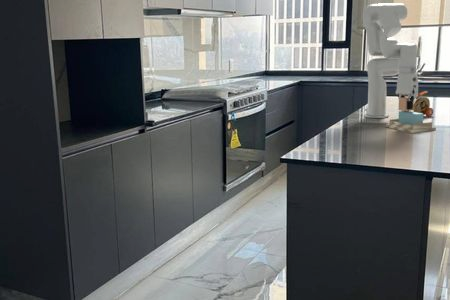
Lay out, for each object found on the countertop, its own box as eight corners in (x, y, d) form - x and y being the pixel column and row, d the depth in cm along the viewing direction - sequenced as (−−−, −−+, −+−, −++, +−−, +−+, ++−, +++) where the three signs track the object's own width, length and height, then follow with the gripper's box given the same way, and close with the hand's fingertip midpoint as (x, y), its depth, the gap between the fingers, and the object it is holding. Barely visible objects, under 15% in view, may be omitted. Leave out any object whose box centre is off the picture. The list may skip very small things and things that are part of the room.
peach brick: (398, 110, 240) (398, 97, 239) (406, 109, 242) (407, 96, 240) (404, 111, 236) (405, 98, 235) (413, 110, 238) (413, 97, 236)
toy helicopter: (434, 116, 268) (436, 90, 265) (408, 120, 258) (409, 94, 255) (421, 114, 275) (423, 89, 272) (395, 118, 265) (396, 93, 262)
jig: (385, 127, 243) (386, 119, 242) (408, 124, 248) (408, 116, 247) (412, 133, 227) (412, 125, 226) (435, 129, 232) (436, 122, 231)
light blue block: (398, 124, 242) (398, 111, 241) (404, 123, 244) (405, 110, 242) (416, 128, 231) (416, 114, 230) (422, 127, 233) (423, 113, 231)
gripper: (427, 70, 228) (424, 110, 232) (401, 69, 244) (399, 106, 248) (414, 71, 226) (412, 111, 230) (389, 70, 241) (387, 107, 245)
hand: (405, 108), depth 239 cm, fingers closed on peach brick, 4 cm apart
